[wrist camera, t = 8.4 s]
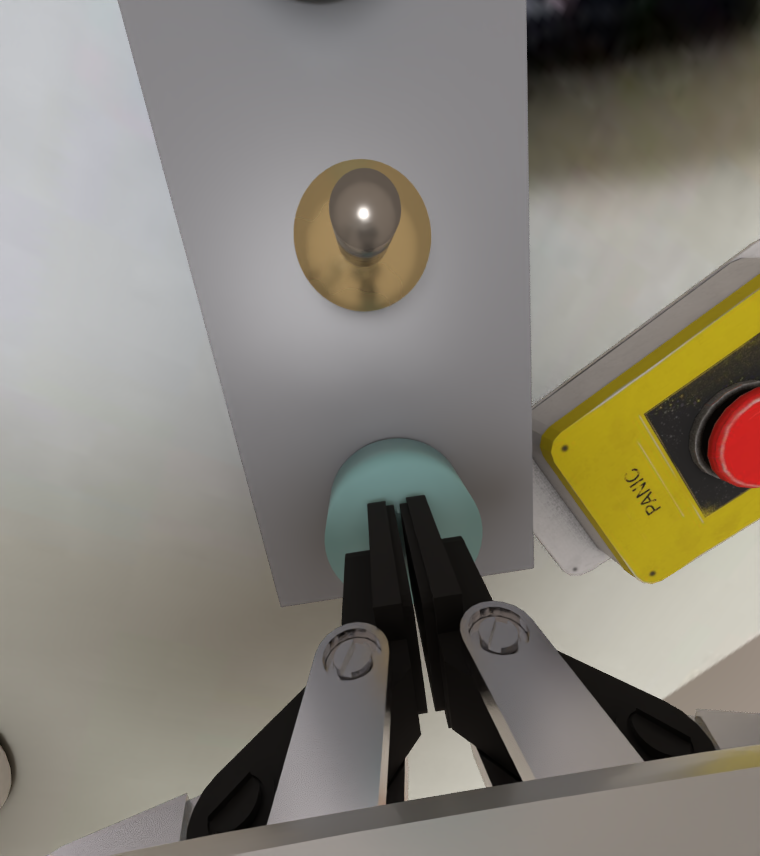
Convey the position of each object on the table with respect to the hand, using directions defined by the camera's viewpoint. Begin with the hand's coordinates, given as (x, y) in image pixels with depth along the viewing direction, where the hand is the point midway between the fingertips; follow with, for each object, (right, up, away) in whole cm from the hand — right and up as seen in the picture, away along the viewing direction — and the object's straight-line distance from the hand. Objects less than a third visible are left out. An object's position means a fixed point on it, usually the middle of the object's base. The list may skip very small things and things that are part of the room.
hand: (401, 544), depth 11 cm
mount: (-1, +9, +4) cm, 10 cm away
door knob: (-1, +8, 0) cm, 8 cm away
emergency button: (+12, +4, +7) cm, 15 cm away
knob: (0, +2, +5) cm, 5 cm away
